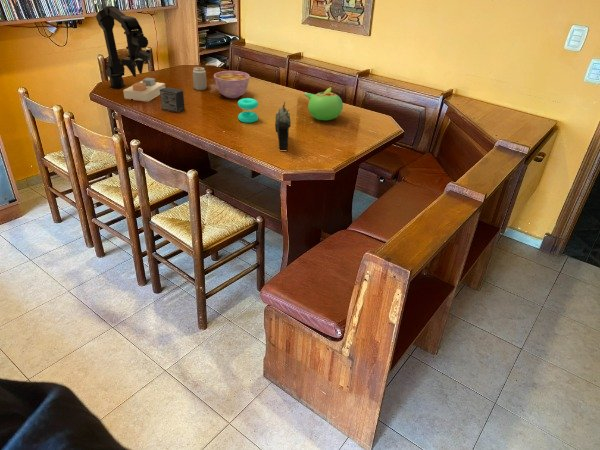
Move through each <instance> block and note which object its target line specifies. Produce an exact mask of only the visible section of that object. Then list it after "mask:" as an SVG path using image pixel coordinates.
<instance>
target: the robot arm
mask: <svg viewBox="0 0 600 450" xmlns="http://www.w3.org/2000/svg"><path fill="white" fill-rule="evenodd" d="M95 19H96V21H97V24H98V26H99V27H100V28H101V29H102V32H103V37H104V40H105V45H106V50H107V55H108V60H107V63H106V64H107V67H106V70H105V75H106V77H108V78H109V81H110V82H109V83H110V86H109V88H111V89H112V88H113V89H121V88H124V87H125V86H126V84H125V83H124V78H123V76H125V72H126V71H125V69H126V68H127V69H128V70H129V72H130V73H131V74H132V76H133V77H134V78H135V77H137V71H138V73H139V75H141V74H143V70H144V64H145V63H146V62H148V61H150V60H151V57H153V54H152V50H151V49H149V48H148V49H146V48H147V47H148V46H149V40H148V38H147V37H146V36H145V35H144V32H143V28H142V27H141V24H140V23H139V21H138V19H137V18H136V17H134V16H131V15H130V16H129V15H126V14H124V13H123V12H122V11H120V10H119V9H117V7H116V6H114V5H108V6H104V8H102V9H101V10H99V11H98V12H97V13H96V15H95ZM115 21H117V22H118V23H119V24H120V27H121V28H122V29H123V30H124V32H123V34H124V35H125V38H126V43H127V45H126V47H125V49H126V50H128V54H127V56H126V57H122V58H121V59H120V58H119V55H118V50H117V45H116V39H115V35H114V30H113V29H114V26H115ZM144 49H146V50H144ZM125 66H126V68H125ZM136 68H137V69H136Z"/></svg>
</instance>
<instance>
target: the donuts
mask: <svg viewBox="0 0 600 450" xmlns="http://www.w3.org/2000/svg"><path fill="white" fill-rule="evenodd" d="M237 105H238V107H239V108H240V109H243V110H246V111H242V112H240V113H238V116H237V118H238V120H239V121H240V122H242V123H247V124H250V123H255V122H257V121H258V120H259V115H258V114H257V113H256V112H254V111H250V110H254V109H256V108H258V105H259V102H258V100H257V99H254V98H252V97H251V98H250V97H246V98H245V97H244V98H240V99H239V100H238V101H237ZM248 110H249V111H248Z"/></svg>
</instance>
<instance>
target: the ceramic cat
mask: <svg viewBox="0 0 600 450" xmlns="http://www.w3.org/2000/svg"><path fill="white" fill-rule="evenodd" d="M285 105H286V102H285V101H284V102H283V105H282V107H281V108H279V109H278V112H277V113H276V114H275V122H274V123H275V124H274V125H275V126H274V129H275V132H276V133H277V137H278V149H280V150H287V151H288V148H289V136H290V135H289V134H290V133H289V131H290V128H291V126H292V125H291V113H289V109H287V108H285ZM280 150H279V151H280Z"/></svg>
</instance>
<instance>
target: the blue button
mask: <svg viewBox="0 0 600 450" xmlns="http://www.w3.org/2000/svg"><path fill="white" fill-rule="evenodd" d="M141 81H142V82H143V83H146V86H153V85H155V82H156V78H154V77H153V78H152V77H145V78H144V79H142V80H141Z"/></svg>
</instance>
